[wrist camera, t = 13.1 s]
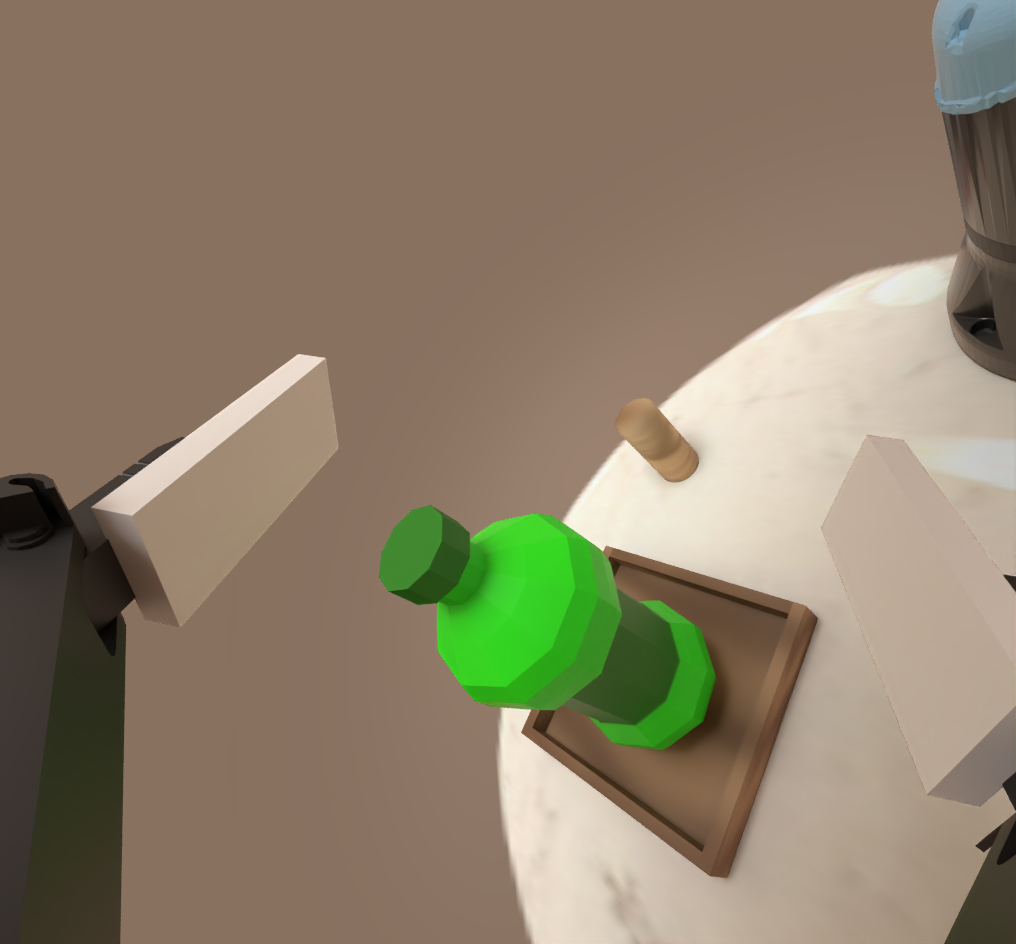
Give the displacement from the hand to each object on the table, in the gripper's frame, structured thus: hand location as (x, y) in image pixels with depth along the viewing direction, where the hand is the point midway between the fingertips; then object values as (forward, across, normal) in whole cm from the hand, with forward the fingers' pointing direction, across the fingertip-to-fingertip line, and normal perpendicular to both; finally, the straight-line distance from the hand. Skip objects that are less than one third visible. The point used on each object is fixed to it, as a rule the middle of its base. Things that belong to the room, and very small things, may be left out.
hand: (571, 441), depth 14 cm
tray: (+15, +8, -28) cm, 33 cm away
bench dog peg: (+32, +8, -20) cm, 39 cm away
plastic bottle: (+14, +9, -28) cm, 33 cm away
